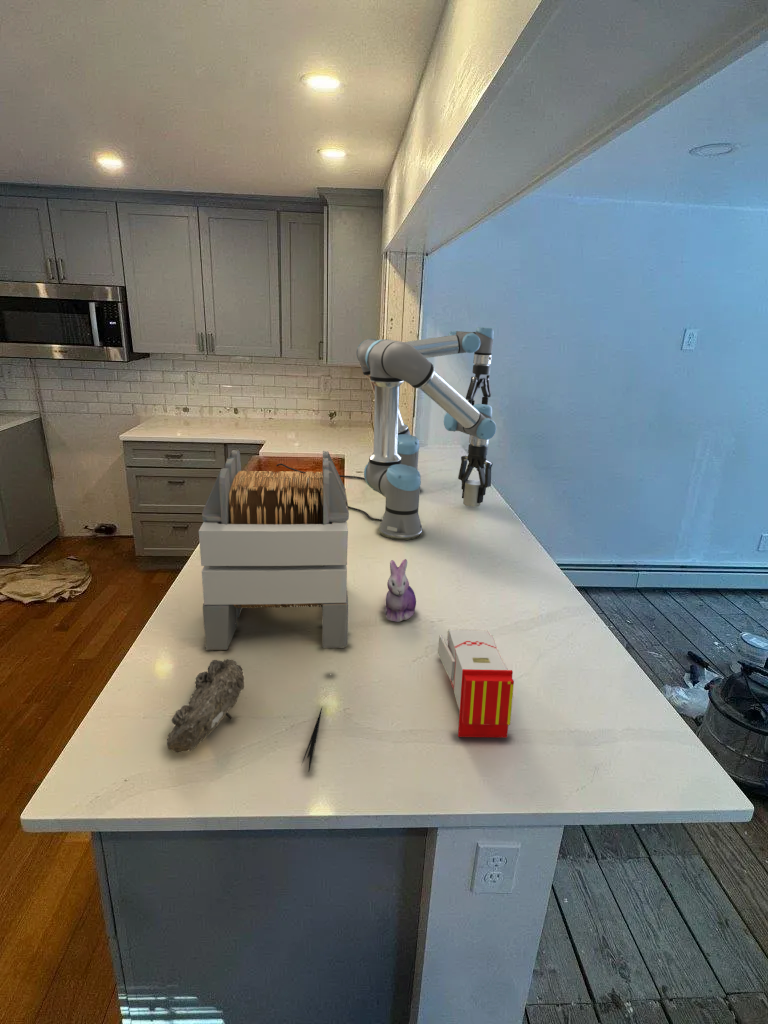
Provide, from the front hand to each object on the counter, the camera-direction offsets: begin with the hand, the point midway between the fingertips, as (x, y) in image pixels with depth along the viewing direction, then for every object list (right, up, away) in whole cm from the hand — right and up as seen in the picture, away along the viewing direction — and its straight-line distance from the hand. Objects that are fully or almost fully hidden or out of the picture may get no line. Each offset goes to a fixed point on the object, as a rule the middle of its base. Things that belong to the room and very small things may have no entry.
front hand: (472, 500), depth 229 cm
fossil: (-68, -44, -121) cm, 146 cm away
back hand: (+6, +39, +25) cm, 47 cm away
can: (0, -2, +1) cm, 2 cm away
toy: (-18, -43, -111) cm, 120 cm away
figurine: (-32, -31, -82) cm, 93 cm away
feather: (-48, -45, -121) cm, 137 cm away
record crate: (-62, -31, -84) cm, 109 cm away
